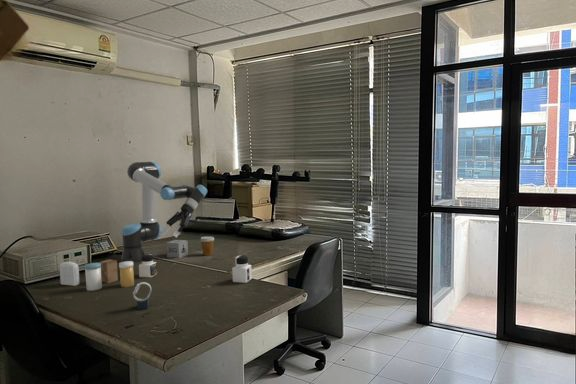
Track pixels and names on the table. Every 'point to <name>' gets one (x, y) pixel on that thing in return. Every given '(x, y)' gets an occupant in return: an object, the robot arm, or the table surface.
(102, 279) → the walnut block
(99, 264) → the white tub
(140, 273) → the medicine bottle
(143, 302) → the watch
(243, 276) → the container
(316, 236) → the table surface
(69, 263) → the photo printer
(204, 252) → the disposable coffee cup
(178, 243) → the icon cube
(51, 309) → the table surface
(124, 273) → the amber jar
